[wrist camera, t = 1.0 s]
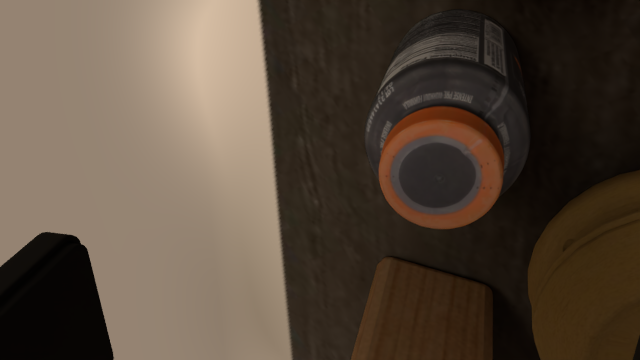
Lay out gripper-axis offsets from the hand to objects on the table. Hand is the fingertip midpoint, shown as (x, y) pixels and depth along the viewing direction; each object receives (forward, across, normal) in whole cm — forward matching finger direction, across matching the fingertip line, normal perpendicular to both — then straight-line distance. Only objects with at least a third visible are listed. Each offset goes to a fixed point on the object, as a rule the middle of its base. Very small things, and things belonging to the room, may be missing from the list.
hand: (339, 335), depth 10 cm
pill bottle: (+22, -1, +2) cm, 22 cm away
